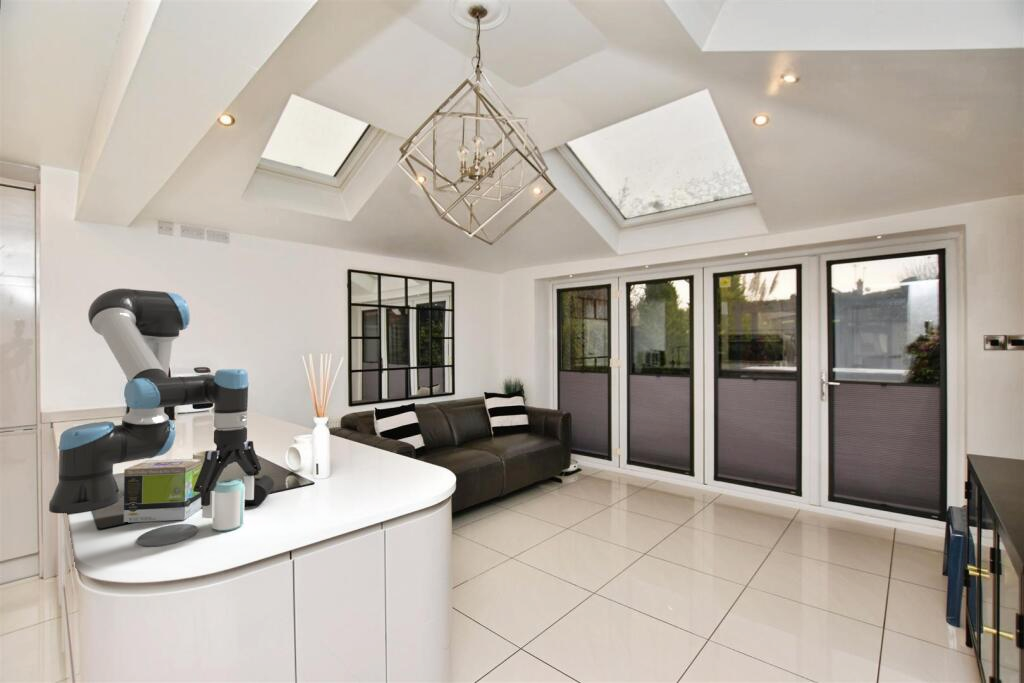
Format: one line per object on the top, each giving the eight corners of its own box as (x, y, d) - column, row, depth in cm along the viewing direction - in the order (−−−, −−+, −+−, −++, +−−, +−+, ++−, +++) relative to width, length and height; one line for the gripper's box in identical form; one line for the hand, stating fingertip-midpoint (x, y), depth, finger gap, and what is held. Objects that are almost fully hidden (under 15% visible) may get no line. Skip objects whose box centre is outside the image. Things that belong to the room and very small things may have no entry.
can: (206, 531, 116) (207, 485, 116) (224, 521, 123) (225, 477, 123) (232, 533, 116) (233, 486, 116) (249, 522, 123) (250, 478, 123)
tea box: (202, 507, 132) (204, 457, 132) (184, 521, 122) (185, 466, 122) (145, 510, 130) (146, 458, 130) (121, 524, 120) (122, 468, 120)
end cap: (265, 506, 134) (266, 484, 134) (239, 508, 132) (239, 485, 132) (273, 495, 144) (274, 474, 144) (248, 497, 142) (249, 475, 142)
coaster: (123, 544, 108) (123, 541, 108) (169, 524, 120) (169, 522, 120) (166, 549, 106) (167, 546, 106) (209, 528, 118) (209, 526, 118)
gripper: (203, 437, 106) (202, 527, 106) (275, 420, 131) (274, 493, 131) (176, 436, 108) (174, 525, 107) (252, 419, 132) (251, 491, 132)
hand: (229, 508), depth 119 cm, fingers open, 13 cm apart
